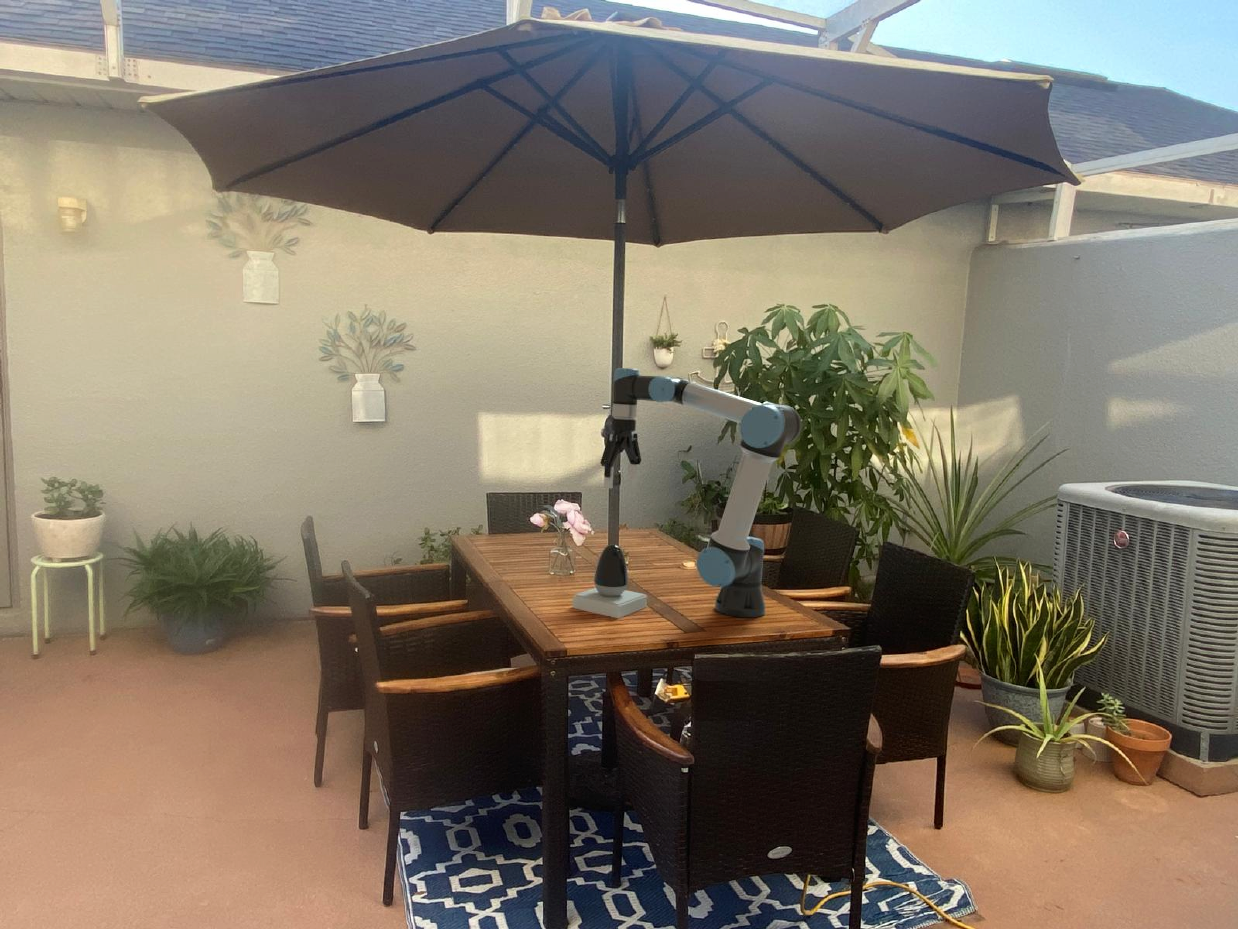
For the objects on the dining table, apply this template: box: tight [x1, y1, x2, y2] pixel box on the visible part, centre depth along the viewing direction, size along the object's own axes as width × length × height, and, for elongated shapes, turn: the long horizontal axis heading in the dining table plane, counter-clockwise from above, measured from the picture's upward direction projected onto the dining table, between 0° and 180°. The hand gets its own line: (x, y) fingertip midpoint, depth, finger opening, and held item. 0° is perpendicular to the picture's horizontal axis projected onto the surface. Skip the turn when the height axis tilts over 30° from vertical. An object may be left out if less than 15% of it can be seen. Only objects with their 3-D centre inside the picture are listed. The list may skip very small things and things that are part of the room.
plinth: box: [572, 587, 648, 619], centre depth 248 cm, size 16×16×4 cm
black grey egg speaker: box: [593, 543, 629, 597], centre depth 247 cm, size 10×10×15 cm
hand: (619, 486), depth 259 cm, fingers open, 13 cm apart
